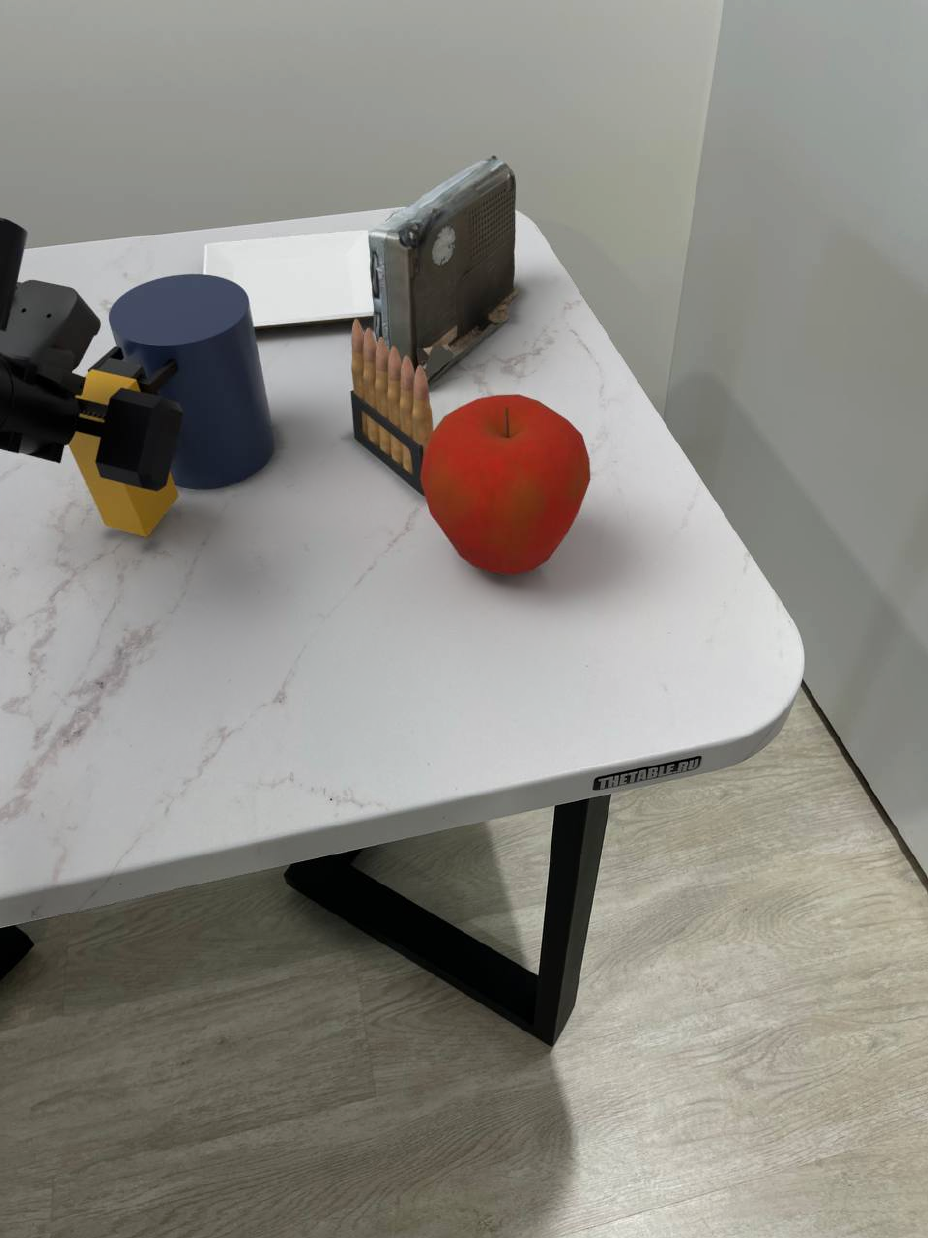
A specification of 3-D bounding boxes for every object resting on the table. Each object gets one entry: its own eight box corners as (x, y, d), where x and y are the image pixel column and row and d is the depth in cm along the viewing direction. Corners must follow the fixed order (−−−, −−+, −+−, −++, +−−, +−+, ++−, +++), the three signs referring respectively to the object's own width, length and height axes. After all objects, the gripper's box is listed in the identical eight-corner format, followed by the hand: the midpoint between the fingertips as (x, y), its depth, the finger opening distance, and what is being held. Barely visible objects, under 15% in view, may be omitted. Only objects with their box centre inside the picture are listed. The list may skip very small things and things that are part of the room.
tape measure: (147, 537, 81) (98, 421, 72) (105, 526, 82) (51, 409, 73) (189, 483, 85) (148, 366, 76) (149, 472, 86) (103, 355, 77)
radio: (485, 271, 112) (485, 131, 101) (552, 293, 109) (559, 151, 98) (350, 368, 99) (334, 220, 89) (420, 396, 96) (412, 246, 85)
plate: (388, 330, 104) (386, 311, 103) (204, 347, 102) (200, 329, 101) (371, 245, 117) (370, 227, 115) (207, 259, 115) (204, 241, 114)
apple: (401, 582, 79) (388, 434, 69) (464, 491, 86) (461, 345, 76) (549, 629, 75) (560, 480, 65) (602, 530, 83) (618, 382, 72)
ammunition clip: (441, 487, 87) (436, 366, 78) (424, 496, 86) (417, 374, 77) (370, 429, 92) (358, 310, 84) (353, 437, 92) (340, 317, 83)
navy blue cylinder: (215, 525, 84) (178, 380, 74) (103, 495, 87) (53, 351, 76) (296, 428, 93) (273, 286, 83) (193, 403, 96) (159, 264, 85)
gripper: (130, 293, 60) (253, 359, 75) (-115, 243, 65) (47, 314, 80) (88, 476, 61) (218, 505, 76) (-151, 413, 66) (16, 452, 81)
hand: (123, 439), depth 78 cm, fingers open, 9 cm apart
